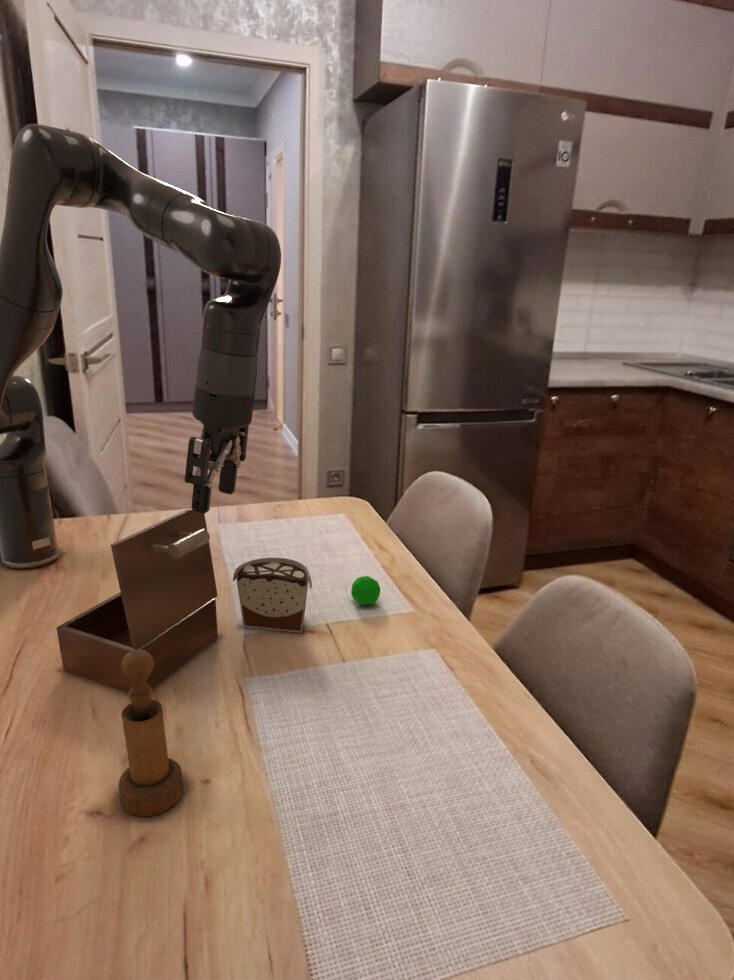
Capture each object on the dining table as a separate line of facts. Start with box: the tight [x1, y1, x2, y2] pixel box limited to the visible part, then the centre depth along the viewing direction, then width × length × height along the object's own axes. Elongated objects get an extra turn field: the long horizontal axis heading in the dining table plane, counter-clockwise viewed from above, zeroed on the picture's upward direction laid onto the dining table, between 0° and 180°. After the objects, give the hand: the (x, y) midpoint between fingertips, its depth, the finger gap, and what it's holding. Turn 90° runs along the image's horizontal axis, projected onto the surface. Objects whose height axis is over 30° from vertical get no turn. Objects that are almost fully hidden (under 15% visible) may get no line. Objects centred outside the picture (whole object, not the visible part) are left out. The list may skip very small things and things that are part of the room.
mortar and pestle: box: [118, 650, 185, 817], centre depth 69 cm, size 7×6×18 cm
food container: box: [232, 557, 313, 634], centre depth 106 cm, size 12×6×10 cm, turn 84°
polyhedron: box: [350, 575, 381, 606], centre depth 114 cm, size 5×5×5 cm
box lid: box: [110, 506, 218, 650], centre depth 89 cm, size 14×17×6 cm
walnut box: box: [56, 591, 219, 693], centre depth 96 cm, size 14×17×7 cm
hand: (213, 501), depth 92 cm, fingers open, 8 cm apart
